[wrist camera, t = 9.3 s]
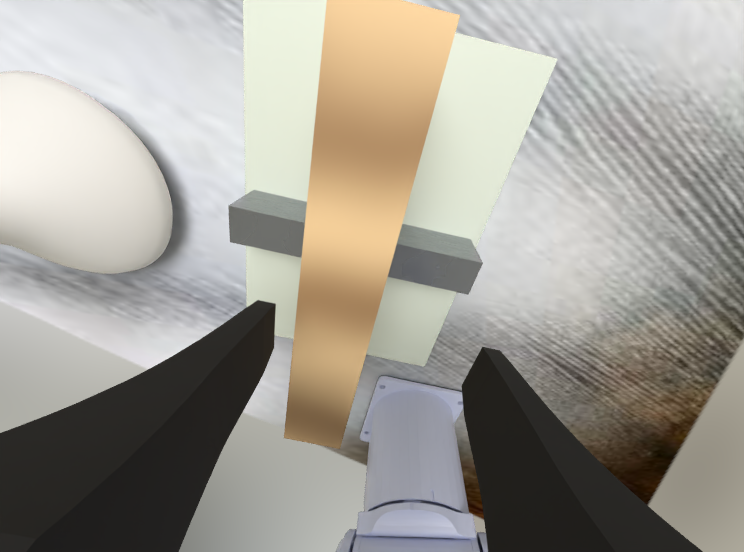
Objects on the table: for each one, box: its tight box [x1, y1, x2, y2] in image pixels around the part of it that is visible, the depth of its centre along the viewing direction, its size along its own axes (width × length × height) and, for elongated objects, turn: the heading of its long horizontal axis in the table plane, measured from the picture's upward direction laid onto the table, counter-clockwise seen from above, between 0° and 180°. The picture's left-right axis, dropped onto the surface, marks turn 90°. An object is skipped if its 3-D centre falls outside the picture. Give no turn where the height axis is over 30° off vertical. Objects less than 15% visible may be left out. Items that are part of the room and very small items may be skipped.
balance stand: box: [229, 0, 557, 367], centre depth 17 cm, size 20×14×4 cm
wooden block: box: [284, 0, 460, 449], centre depth 13 cm, size 18×3×5 cm, turn 168°
